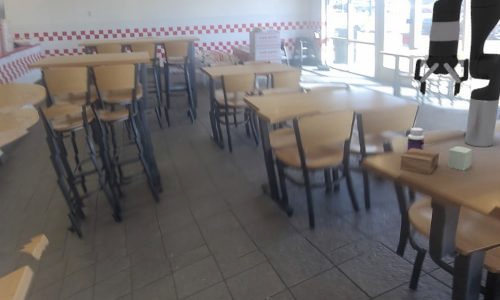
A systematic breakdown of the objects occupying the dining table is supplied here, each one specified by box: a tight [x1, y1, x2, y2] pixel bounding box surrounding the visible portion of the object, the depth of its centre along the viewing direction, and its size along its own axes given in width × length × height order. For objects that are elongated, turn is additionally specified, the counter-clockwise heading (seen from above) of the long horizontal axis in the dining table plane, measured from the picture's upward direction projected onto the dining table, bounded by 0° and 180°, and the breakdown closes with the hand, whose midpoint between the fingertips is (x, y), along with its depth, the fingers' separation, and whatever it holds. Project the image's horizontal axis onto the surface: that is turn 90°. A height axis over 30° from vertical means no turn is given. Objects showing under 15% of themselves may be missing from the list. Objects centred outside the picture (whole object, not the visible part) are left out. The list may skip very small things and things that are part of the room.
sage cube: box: [447, 145, 473, 172], centre depth 132 cm, size 5×5×6 cm
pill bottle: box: [406, 127, 425, 152], centre depth 144 cm, size 5×5×10 cm
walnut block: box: [400, 148, 440, 175], centre depth 134 cm, size 9×9×5 cm
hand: (439, 94), depth 120 cm, fingers open, 8 cm apart
